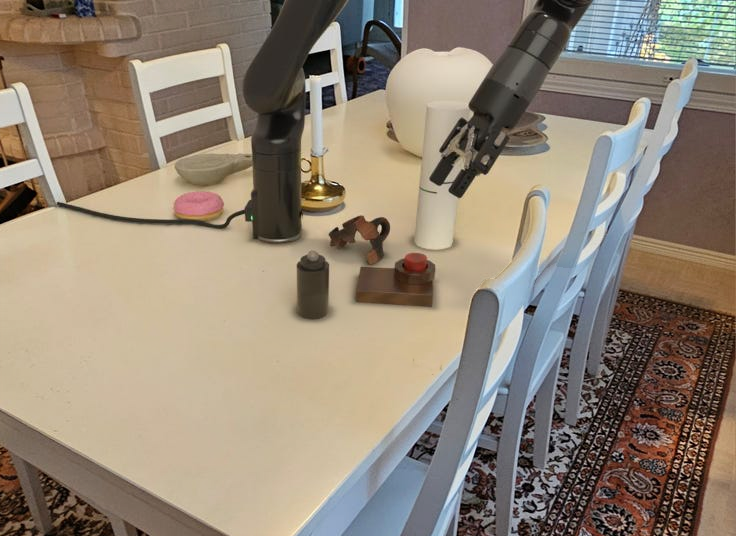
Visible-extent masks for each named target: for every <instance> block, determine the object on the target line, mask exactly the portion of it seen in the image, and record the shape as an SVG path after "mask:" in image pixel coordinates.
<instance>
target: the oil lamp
mask: <svg viewBox="0 0 736 536" xmlns="http://www.w3.org/2000/svg"><path fill="white" fill-rule="evenodd" d="M251 167H252V168H253V166H252V153H237V154H234V153H202V154H201V153H200V154H195V155H192V156H191V155H190V156H188V157H183V158H180V159H178V160H176V161H175V163H174V170H175V171H176V173H177V174H178V175H179V176H180V177H181V178H182V179H183V180H184V181H186V182H187V183H189V184H191V185H193V186H197V187H207V186H212V185H217V184H219V183H221V182H222V181H224V180H225V179H226V178H228V177H229V176H231V175H234V174H236V173H240V172H242V171H245V170H247V169H249V168H251Z"/></svg>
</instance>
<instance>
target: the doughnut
mask: <svg viewBox="0 0 736 536" xmlns="http://www.w3.org/2000/svg"><path fill="white" fill-rule="evenodd" d="M224 206H225V202H224V199H223V198H222V197H221V195H219V194H218V193H215V192H212V191H209V190H208V191H204V190H198V191H196V190H195V191H189V192H187V193H183V194H181V195H179V196H178V197H177V198H176V199H175V200H174V203H173V207H172V210H173V211H174V214H175V216H176V217H178V218H179V219H187V220H199V221H203V222H208V221H211V220H214V219H216V218H218V217H219V216H220V215H221V214H222V213H223V211H224Z"/></svg>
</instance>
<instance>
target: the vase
mask: <svg viewBox="0 0 736 536" xmlns="http://www.w3.org/2000/svg"><path fill="white" fill-rule="evenodd" d="M493 64H494V63H492V62H491V60H490V59H489V58H488V57H487V56H485V55H484V54H482V53H481V52H479V51H478V50H474V49H470V48H467V47H460V46H457V47H455V48H453V49H451V50H449V51H434V50H433V49H430V48H425V47H424V48H419V49H415V50H413V51H411V52H409V53H408V54H405V56H403V57H401V59H400V60H399V61H398V62H397V63H396V64H395V65H394V67H393V68H392V69H391V71H390V72H389V75H388V77H387V80H386V85H385V102H386V108H387V112H388V115H389V116H388V117H389V119H390V120H389V121H390V123H391V126H392V130H393V133H394V135H395V137H396V139H397V141H398V143H399V144H400V145H401V146H402V148H403V149H405V150H406V151H407V152H409V153H411V154H412V155H414V156H417V157H419V158H422V152H423V142H424V131H425V121H426V111H427V104H429V103H431V102H436V101H460V102H465V103H468V104H469V102H470V101H471V99H472V97H473V96H474V94H475V93H476V91H477V89H478V88H479V86H480V85H481V83H482V81H483V80H484V78H485V77H486V75H487V73H488V72H489V70H490V69H491V67H492V66H493ZM473 115H474V113H473V111H471V110H470V112H469V120H470V119H471V118H472V117H473ZM469 120H468V121H469Z"/></svg>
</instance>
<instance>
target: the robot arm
mask: <svg viewBox="0 0 736 536" xmlns="http://www.w3.org/2000/svg"><path fill="white" fill-rule="evenodd" d="M349 1H350V0H284V2H283V4H282V6H281V9H280V11H279V14H278V16H277V18H276V20H275V22H274V24H273V26H272V28H271V30H270V31H269V33H268V35H267V36H266V38H265V40H264V41H263V43H262V44H261V46H260V48H259V50H258V51H257V52H256V54H255V55H254V57H253V58H252V60H251V61H250V63H249V64H248V67H246V70H245V72H244V75H243V78H242V84H241V85H242V86H241V89H242V96H243V99H244V102H245V104H246V106H247V108H249V110H250V111H252V112H254V113H255V114H257V119H256V122H255V126H254V128H253V131H252V132H251V135H250V136H251V137H250V141H251V142H250V145H251V147H250V148H251V154H252V186H253V189H252V190H251V192H250V199H249V200H248V201H247V203H246V204H245V206H244V208H243V209H241V210H239V211H236V212H234V213H232V214H230V215H228V217H227V218H226V219H225V222H224V223H222V224H214V223H210V222H208V221H199V220H187V219H180V218H179V219H178V218H177V219H158V218H138V217H129V216H121V215H115V214H109V213H104V212H99V211H95V210H92V209H88V208H85V207H81V206H77V205H74V204H69V203H64V202H60V201H57V202H56V206H59V207H61V208H62V207H63V208H66V209H70V210H73V211H78V212H80V213H81V212H82V213H85V214H89V215H92V216H97V217H101V218H106V219H111V220H116V221H122V222H129V223H130V222H131V223H139V224H141V223H143V224H164V225H166V224H167V225H168V224H169V225H171V224H173V225H174V224H175V225H178V224H180V225H181V224H182V225H183V224H187V225H188V224H189V225H198V226H203V227H206V228H211V229H217V230H222V229H226V228H227V227H228V226H229V225H230V223H231V222H232V220H233V219H235V218H237V217H239V216H242V215H244V221H245V222H248V223H249V222H250V223H251V226H252V240H256V241H257V240H258V241H260V242H263V243H267V244H277V245H278V244H287V243H292V242H294V241H297V240H299V239H300V238H301V237H302V236H303V228H302V227H303V223H302V219H304V211H303V208H302V138H303V134H304V130H305V124H306V99H307V98H306V95H307V93H306V92H307V91H306V89H307V87H306V76H305V70H304V68H303V66H304V64H305V62H306V60H307V58H308V56H309V54H310V52H311V51H312V49H313V48H314V46H315V45H316V43H317V42H318V41H319V40H320V38H321V37H322V36H323V35H324V33H325V32H326V31H327V30H328V28H329V27H330V26H332V24H333V23H334V21H335V20H336V19H337V17H338V16H340V14H341V12H342V11H343V9H345V7H346V5H347V4H348V3H349ZM594 1H595V0H536V2H534V5H533V7H532V8H531V10H530V12H529V13H528V14H527V15H526V16H525V18H524V19H523V20H522V22H521V23H520V25H518V28H517V29H516V30H515V32H514V33H513V36H512V37H511V39H510V40H509V42H508V43H507V45H506V46H505V48H504V50H503V51H502V52H501V54H500V55H498V57H497V58H496V60H495V61H494V62H493V63H492V64H493V66H492V67H491V69H490V70H489V72H488V73H487V75H486V77H485V78H484V80H483V81H482V83H481V85H480V86H479V88H478V89H477V91H476V93H475V94H474V96H473V97H472V99H471V101H470V102H469V104H468V107H469V109H470V110H471V111H473V113H474V115H473V117H472V118H471V119H470V120H469V121H467V120H465V119H464V118H462V117H461V118H460V119H459V120H458V122H457V123H456V125H455V127H454V128H453V130H452V131H451V133H450V134H449V136H448V137H447V139H446V140H445V142H444V143H443V145H442V146H441V148H440V150H439V152H440V153H442V154H441V158H442V159H441V160H440V162H439V163H438V165H437V166H436V168H435V170H434V171H433V173H432V174H431V176H430V178H429V180H430V181H431V182H433V183H434V184H436V185H438V186H441V185H442V184H443V183H444V181H445V179H446V178H447V176H448V175H449V173H450V172H451V170H452V169H453V167H454V166H453V165H455V164H456V163H457V162H458V161H459V160H460V159H461V158H463V159H465V161H464V163H463V168H462V169H461V171H460V172H459V174H458V175H457V177H456V178H455V180H454V182H453V183H452V185H451V186H450V188H449V190H448V191H449V193H451V194H452V195H454V196H456V197H457V198H458V199H461V198H463V197H464V195H465V193H466V192H467V190H468V189H469V188H470V186H471V185H472V183H473V181H474V180H475V178H476V177H479V176H480V175H481V174H482V175H483V176H486V175H488V174H489V172H490V171H491V170H492V168H493V166H494V165H495V163H496V161H498V160H497V159H498V158H499V156H500V155H501V154H502V152H503V150H504V148H505V147H506V146H507V144H508V143H509V141H510V136H509V135H508V134H507V133H505V132H504V131H506V132H511V131H513V130H514V129H515V127H516V125H517V124H518V123H519V121H520V120H521V118H522V116H523V115H524V113H525V112H526V111H527V109H528V108H529V106H530V104H531V103H532V102H533V100H534V99H535V97H536V96H537V94H538V93H539V92H540V89H541V87H542V86H543V84H544V83H545V80H546V78H547V76H548V74H549V73H550V71H551V70H552V68H553V67H554V65H555V64H556V62H557V60H558V59H559V58H560V56H561V55H562V53H563V51H564V50H565V48H566V47H567V44H568V43H569V40H570V38H571V35H572V32H573V31H574V30H575V28H576V26H578V24H579V22H580V21H581V19H582V18H583V16H584V15H585V14H586V12H587V11H588V9H589V8H590V7H591V5H592V4H593V2H594ZM502 130H503V131H502ZM449 144H450V146H449ZM448 146H449V147H448ZM456 154H457V155H456Z"/></svg>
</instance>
